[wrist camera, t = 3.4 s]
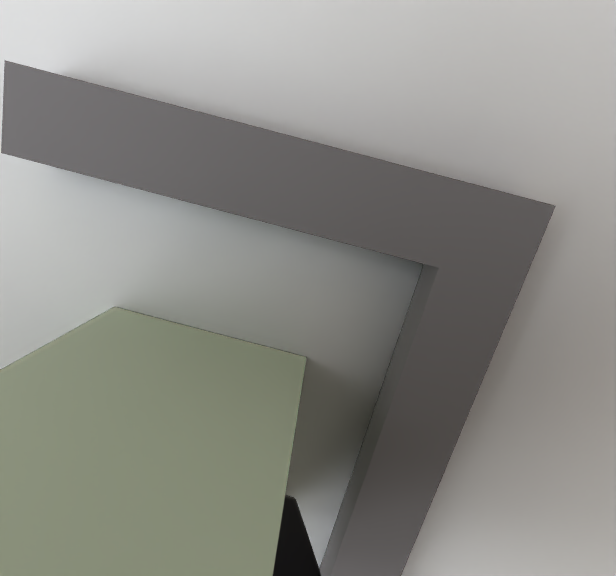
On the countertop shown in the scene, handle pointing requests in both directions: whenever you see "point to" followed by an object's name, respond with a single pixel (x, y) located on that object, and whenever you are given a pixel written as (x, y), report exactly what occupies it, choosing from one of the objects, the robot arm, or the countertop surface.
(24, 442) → the pale green block
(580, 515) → the countertop surface
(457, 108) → the countertop surface
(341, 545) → the bracket
